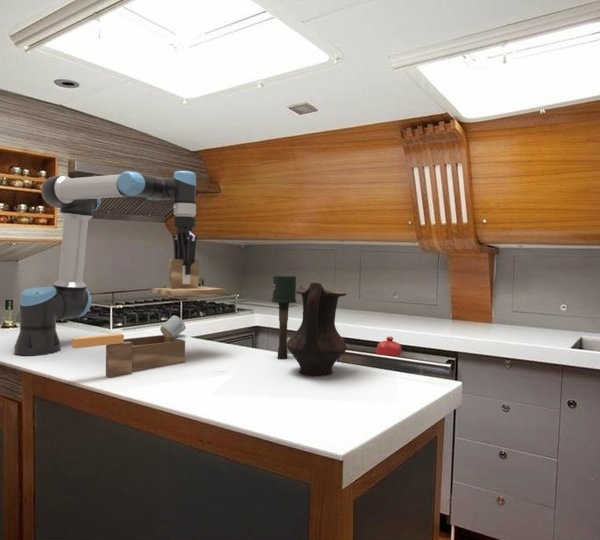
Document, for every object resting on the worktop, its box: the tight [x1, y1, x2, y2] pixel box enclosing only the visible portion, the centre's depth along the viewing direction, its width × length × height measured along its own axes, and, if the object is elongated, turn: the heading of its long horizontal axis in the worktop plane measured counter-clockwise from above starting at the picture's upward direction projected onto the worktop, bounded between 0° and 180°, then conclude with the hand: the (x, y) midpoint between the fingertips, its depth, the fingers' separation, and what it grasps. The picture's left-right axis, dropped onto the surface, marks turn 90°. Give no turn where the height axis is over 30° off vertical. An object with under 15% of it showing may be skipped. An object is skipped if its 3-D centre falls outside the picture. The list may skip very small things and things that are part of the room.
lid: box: [150, 258, 227, 299], centre depth 172 cm, size 16×20×12 cm
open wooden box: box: [105, 334, 186, 379], centre depth 161 cm, size 16×26×10 cm, turn 133°
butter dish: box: [375, 336, 403, 356], centre depth 182 cm, size 12×12×8 cm
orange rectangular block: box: [71, 333, 125, 349], centre depth 145 cm, size 2×14×2 cm, turn 133°
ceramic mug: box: [160, 315, 187, 338], centre depth 210 cm, size 11×8×8 cm
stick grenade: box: [270, 274, 297, 360], centre depth 171 cm, size 8×9×30 cm
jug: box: [287, 281, 347, 378], centre depth 151 cm, size 21×18×30 cm
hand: (184, 283), depth 175 cm, fingers closed on lid, 2 cm apart
